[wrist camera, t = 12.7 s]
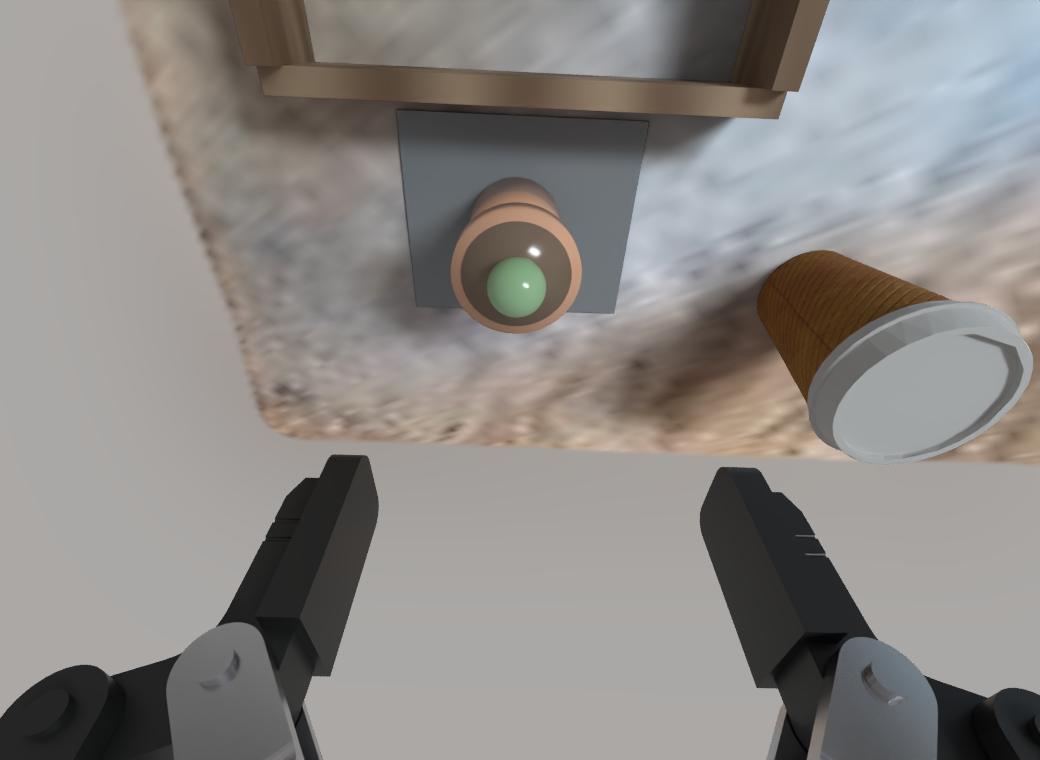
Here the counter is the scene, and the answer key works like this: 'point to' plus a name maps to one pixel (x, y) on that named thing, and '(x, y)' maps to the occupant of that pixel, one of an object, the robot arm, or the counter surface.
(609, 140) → the slate mat
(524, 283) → the terracotta pot
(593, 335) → the counter surface
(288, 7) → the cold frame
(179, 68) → the counter surface
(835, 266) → the disposable coffee cup
